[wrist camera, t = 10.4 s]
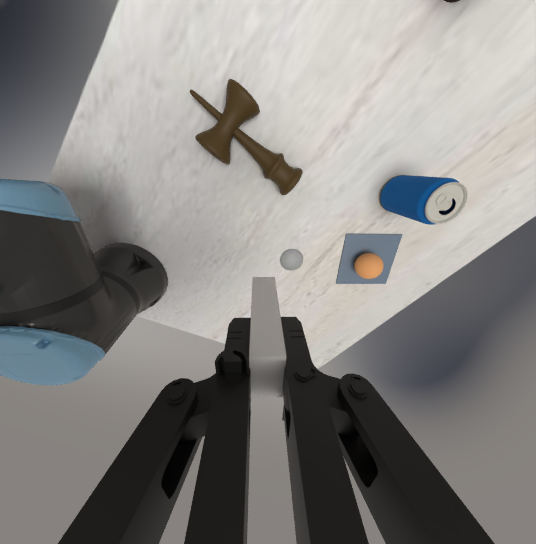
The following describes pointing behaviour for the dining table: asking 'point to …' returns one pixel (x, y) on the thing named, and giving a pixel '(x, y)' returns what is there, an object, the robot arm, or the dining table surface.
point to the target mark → (364, 244)
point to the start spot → (291, 259)
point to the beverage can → (424, 198)
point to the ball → (369, 265)
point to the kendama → (243, 136)
